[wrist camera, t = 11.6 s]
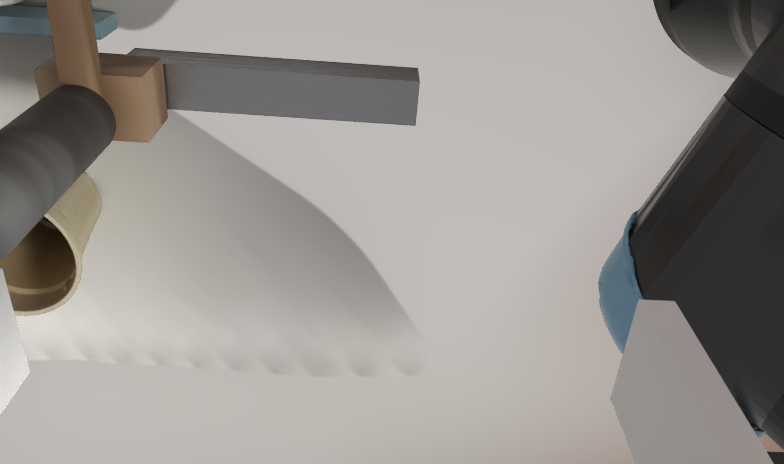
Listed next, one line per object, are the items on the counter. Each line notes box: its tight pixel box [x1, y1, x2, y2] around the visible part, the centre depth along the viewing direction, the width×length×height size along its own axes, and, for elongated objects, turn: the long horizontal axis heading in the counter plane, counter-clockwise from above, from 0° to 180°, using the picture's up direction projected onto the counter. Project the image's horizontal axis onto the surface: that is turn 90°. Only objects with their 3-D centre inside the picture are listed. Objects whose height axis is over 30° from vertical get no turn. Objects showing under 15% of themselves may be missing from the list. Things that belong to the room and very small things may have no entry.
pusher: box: [0, 0, 168, 261], centre depth 34 cm, size 6×16×21 cm, turn 176°
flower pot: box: [0, 172, 101, 316], centre depth 48 cm, size 9×9×9 cm
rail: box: [127, 48, 419, 126], centre depth 46 cm, size 19×3×3 cm, turn 86°
